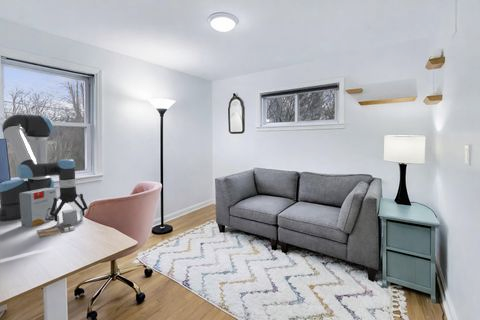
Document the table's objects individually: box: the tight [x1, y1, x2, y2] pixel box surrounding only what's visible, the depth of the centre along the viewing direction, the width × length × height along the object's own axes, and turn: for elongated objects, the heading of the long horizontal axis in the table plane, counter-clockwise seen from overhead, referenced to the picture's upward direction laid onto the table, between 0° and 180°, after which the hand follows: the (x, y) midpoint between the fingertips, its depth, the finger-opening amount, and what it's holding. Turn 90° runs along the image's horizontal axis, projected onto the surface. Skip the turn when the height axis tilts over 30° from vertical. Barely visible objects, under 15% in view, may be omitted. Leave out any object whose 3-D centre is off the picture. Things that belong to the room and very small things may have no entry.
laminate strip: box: [56, 224, 73, 234], centre depth 130 cm, size 12×6×1 cm, turn 46°
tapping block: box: [61, 208, 78, 225], centre depth 139 cm, size 6×6×8 cm
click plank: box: [36, 226, 61, 239], centre depth 125 cm, size 12×8×1 cm, turn 46°
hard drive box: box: [19, 187, 58, 228], centre depth 139 cm, size 16×8×20 cm, turn 168°
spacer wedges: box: [64, 225, 76, 233], centre depth 127 cm, size 2×4×2 cm, turn 136°
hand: (70, 224), depth 139 cm, fingers open, 10 cm apart
